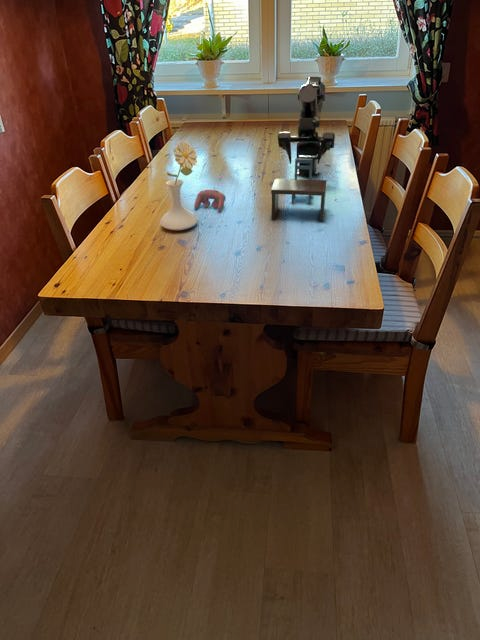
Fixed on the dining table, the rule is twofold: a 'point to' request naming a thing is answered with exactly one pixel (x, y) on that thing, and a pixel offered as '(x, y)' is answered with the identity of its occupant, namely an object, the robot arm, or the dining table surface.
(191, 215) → the flower in vase
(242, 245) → the dining table surface
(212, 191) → the video game controller
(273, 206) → the desk
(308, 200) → the chair
